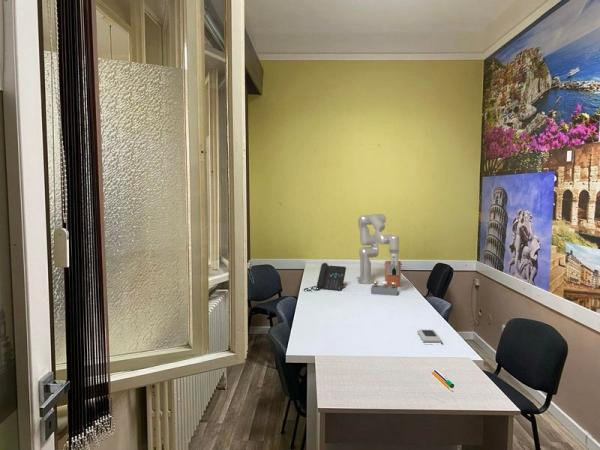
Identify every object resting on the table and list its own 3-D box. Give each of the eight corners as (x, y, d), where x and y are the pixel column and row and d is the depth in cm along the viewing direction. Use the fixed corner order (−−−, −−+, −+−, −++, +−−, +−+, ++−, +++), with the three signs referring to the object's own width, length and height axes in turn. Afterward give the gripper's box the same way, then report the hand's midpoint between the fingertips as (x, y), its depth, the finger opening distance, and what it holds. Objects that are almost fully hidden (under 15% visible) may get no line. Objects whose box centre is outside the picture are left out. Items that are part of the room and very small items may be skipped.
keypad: (423, 338, 210) (417, 328, 225) (423, 345, 211) (417, 334, 226) (442, 338, 210) (434, 328, 225) (441, 345, 210) (434, 335, 225)
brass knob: (390, 289, 311) (390, 282, 311) (391, 288, 315) (391, 281, 315) (395, 289, 310) (396, 282, 310) (396, 288, 314) (396, 281, 314)
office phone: (302, 291, 323) (302, 267, 321) (313, 283, 349) (313, 261, 347) (336, 294, 312) (337, 269, 310) (346, 286, 338) (346, 263, 336)
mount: (371, 293, 313) (371, 287, 312) (372, 290, 323) (372, 284, 322) (397, 295, 307) (397, 289, 307) (397, 292, 317) (397, 286, 317)
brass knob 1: (372, 288, 315) (372, 281, 315) (373, 287, 319) (373, 280, 318) (377, 288, 314) (377, 281, 314) (378, 287, 318) (378, 280, 317)
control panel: (383, 285, 342) (400, 285, 340) (384, 287, 335) (402, 287, 333) (383, 260, 340) (401, 260, 339) (384, 262, 333) (402, 262, 332)
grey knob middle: (381, 288, 313) (381, 281, 313) (382, 287, 317) (382, 280, 317) (386, 289, 312) (386, 282, 312) (387, 287, 316) (387, 281, 316)
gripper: (398, 252, 302) (398, 276, 303) (399, 250, 316) (399, 273, 317) (388, 252, 304) (388, 276, 305) (389, 250, 318) (389, 272, 319)
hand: (394, 274), depth 311 cm, fingers closed
